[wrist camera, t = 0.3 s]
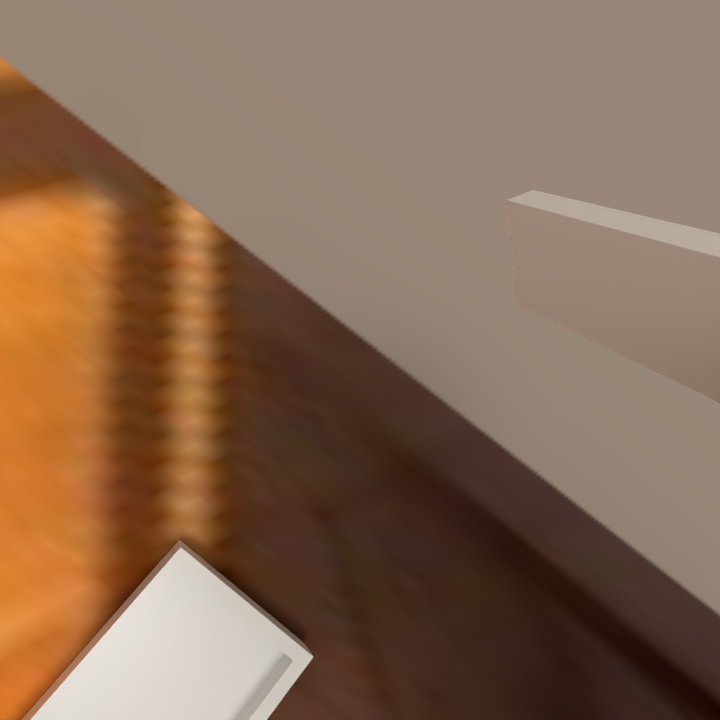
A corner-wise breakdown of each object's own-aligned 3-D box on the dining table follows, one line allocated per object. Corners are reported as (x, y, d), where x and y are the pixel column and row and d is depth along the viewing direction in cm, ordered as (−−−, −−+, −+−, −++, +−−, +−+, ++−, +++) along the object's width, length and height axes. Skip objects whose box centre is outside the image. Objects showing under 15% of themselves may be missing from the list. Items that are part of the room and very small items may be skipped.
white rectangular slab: (303, 642, 44) (313, 656, 41) (145, 851, 40) (144, 884, 37) (179, 539, 42) (180, 547, 40) (-3, 746, 38) (-16, 772, 35)
